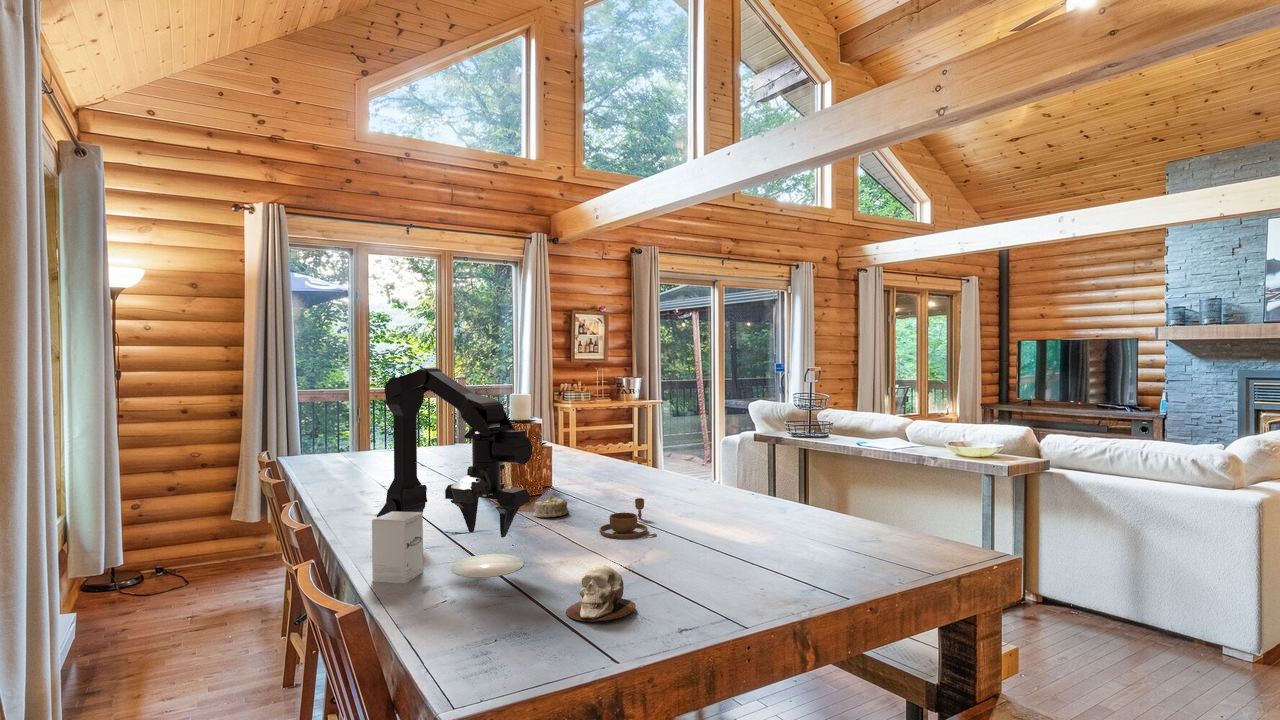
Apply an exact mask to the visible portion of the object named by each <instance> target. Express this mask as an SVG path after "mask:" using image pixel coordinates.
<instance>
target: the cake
mask: <svg viewBox="0 0 1280 720" xmlns="http://www.w3.org/2000/svg"><path fill="white" fill-rule="evenodd" d="M533 507H534V509H533V510H534V512H533V514H532V516H533V517H536V518H537V517H538V518H552V517H553V518H554V517H560V516H564V515H567V514H568V513H569V512H570V511H569V509H568V502H567V500H566V499H562V498H553V496H551V495H550V494H549V495H547V500H545V501H536V502H534V506H533Z"/></svg>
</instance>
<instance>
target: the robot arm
mask: <svg viewBox="0 0 1280 720" xmlns="http://www.w3.org/2000/svg"><path fill="white" fill-rule="evenodd" d="M384 384H385V385H384V397H385V403H386V406H387V408H388V409H389V411H390V412H391V414H392V415H393V480H392V482H391V483H390V485H389V487H388V489H387V491H386V498H385V499H386V500H385V504H384V505H383V507H382V508H381V509H380V510H379V512H378V513H377V514H376V518H377V517H380V516H382V515H385V514H387V513H390V512H422V513H424V510H425V508H426V505H427V504H426V503H428V498H427V490H428V488H427V485H426V484H422V483H421V481H420V479H419V478H418V455H417V454H418V444H417V440H418V439H417V437H418V436H417V433H418V432H417V429H418V428H417V425H418V423H417V416H418V413H419V411H420V410H421V408H422V406H423V404H424V399H425V393H427V392H432V393H433V394H435V395H436V396H437V397H439V398H440V399H442V400H443V401H445V402H446V403H448V404H449V405H451V406H452V407H453V408H455V409H456V410H457V411H459V413H460V417H461V419H462V420H463V421H464V422H465V423H466V424H467V425H468V426H469V427H470V430H469V431H468V432H466V433H465V435H464V439H465V440H467V439H468V440H469V439H470V440H471V444H472V445H471V450H472V452H471V453H472V455H471V457H472V458H471V459H472V462H471V463H472V464H471V465H470V466H468V467H467V472H466V473H467V474H466V476H463V477H461V478H460V479H458V481H456V482H454V483H452V484H448V485H447V486H446V488H445V490H444V494H445V495H444V499H446V500H450V502H451V504H454V505H455V506H456V507H457V508H459V509H460V510H459V511H460V512H461V514H462V517H463V520H464V521H465V525H466V528H467V530H468V532H469V533H474V531H475V529H476V525H477V523H476V522H477V513H478V507H479V499H480V498H482V499H488V500H489V499H490V500H491V499H492V500H496V501H497V503H498V506H495V509H496V510H497V512H498V513H499V533H500V537H501V538H502V539H503V538H505V537H506V536H507V534H508V532H509V530H510V527H511V526H512V523H513V520H514V518H515V517H516V514H517V513H518V511H519V509H520V508H521V507H522V506H524V505H525V504H528V503H530V502H531V501H530V500H531V499H530V495H531V494H530V491H529V489H527V488H523V487H511V488H506V489H505V483H503V482H501V470H505V464H513V465H514V464H516V465H525V464H527V463H528V462H529V461H530V459H531V457H532V455H533V450H534V449H533V445H532V442H531V439H530V438H529V437H527V436H526V431H525V430H522V429H520V430H516V429H515V427H514V425H513V424H512V422H511V420H510V419H509V416H508V414H507V413H506V412H505V409H504V407H505V406H504V405H503V404H502V402H501V401H499V400H496V399H495V398H492V397H489V396H486V395H485V396H484V395H481V394H476V393H474V392H473V391H471V390H470V389H468V388H467V387H465V386H464V385H462V384H461V383H459V382H458V381H456V380H454V379H453V378H451V377H450V376H449V375H447V374H445V373H444V372H443V371H442V370H441V369H440V368H438V367H433V366H432V367H421V368H419V369H416V370H415V371H413V372H408V373H406V374H403V375H400V376H392V377H390V378H389V379H388V380H387V381H386V382H385V383H384ZM504 463H505V464H504Z"/></svg>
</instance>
